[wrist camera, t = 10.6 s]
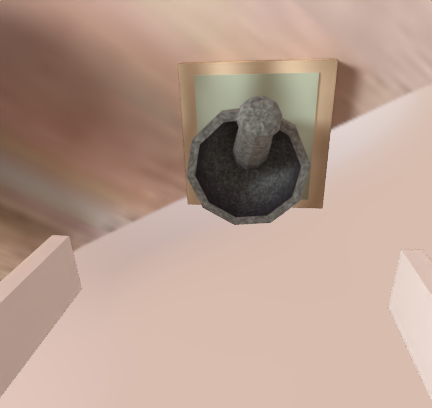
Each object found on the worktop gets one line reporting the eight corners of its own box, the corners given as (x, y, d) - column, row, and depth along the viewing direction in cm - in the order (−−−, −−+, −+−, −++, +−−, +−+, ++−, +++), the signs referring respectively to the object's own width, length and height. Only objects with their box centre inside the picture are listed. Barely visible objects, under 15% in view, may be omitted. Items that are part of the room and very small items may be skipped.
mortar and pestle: (285, 203, 35) (292, 272, 25) (196, 183, 36) (164, 243, 25) (318, 90, 31) (344, 115, 20) (214, 69, 31) (185, 82, 20)
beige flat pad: (192, 195, 40) (187, 205, 37) (184, 62, 34) (177, 64, 31) (319, 198, 38) (322, 209, 35) (333, 58, 32) (338, 59, 29)
